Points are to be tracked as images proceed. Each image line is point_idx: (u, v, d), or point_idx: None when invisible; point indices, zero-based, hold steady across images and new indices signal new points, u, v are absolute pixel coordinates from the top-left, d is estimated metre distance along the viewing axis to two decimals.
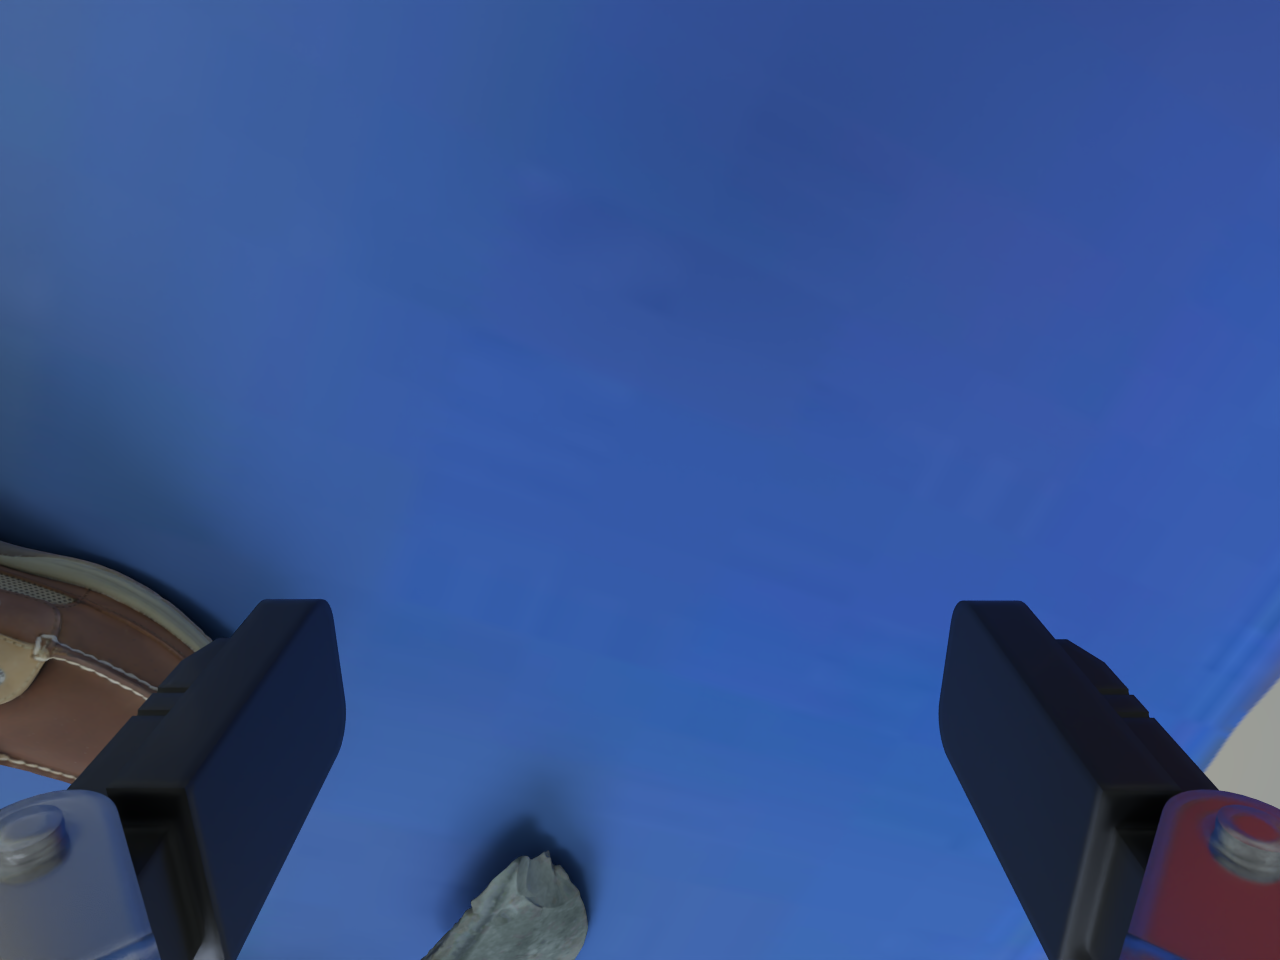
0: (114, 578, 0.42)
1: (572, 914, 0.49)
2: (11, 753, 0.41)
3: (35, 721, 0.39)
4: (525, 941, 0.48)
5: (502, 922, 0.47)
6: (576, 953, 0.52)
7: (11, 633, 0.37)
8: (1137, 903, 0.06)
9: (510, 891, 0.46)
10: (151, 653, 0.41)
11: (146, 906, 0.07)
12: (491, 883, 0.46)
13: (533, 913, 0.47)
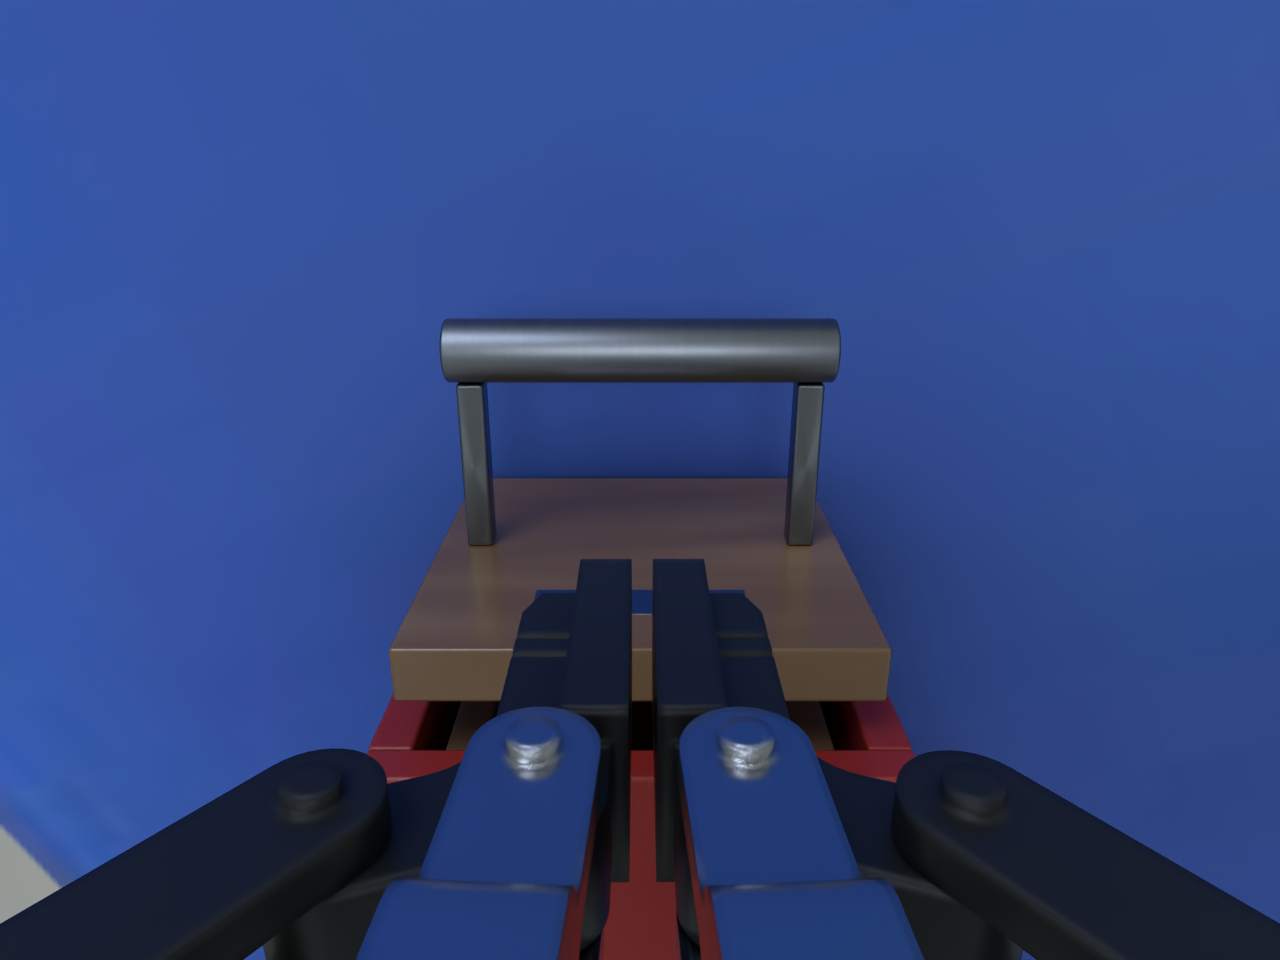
0: None
1: None
2: None
3: None
4: None
5: None
6: None
7: None
8: (696, 848, 0.07)
9: None
10: None
11: (600, 843, 0.08)
12: None
13: None
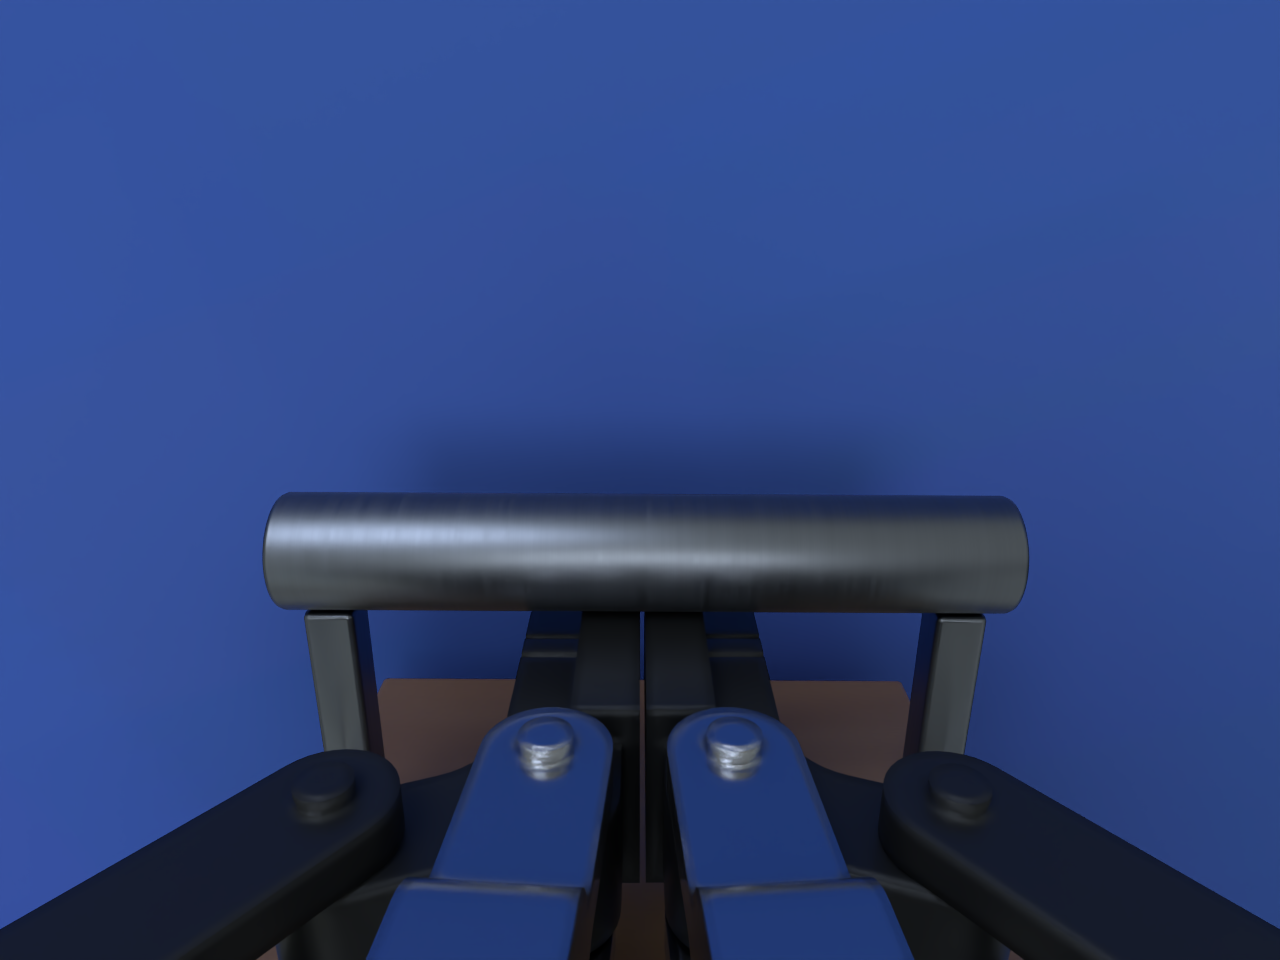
0: None
1: None
2: None
3: None
4: None
5: None
6: None
7: None
8: (685, 849, 0.07)
9: None
10: None
11: (612, 845, 0.08)
12: None
13: None
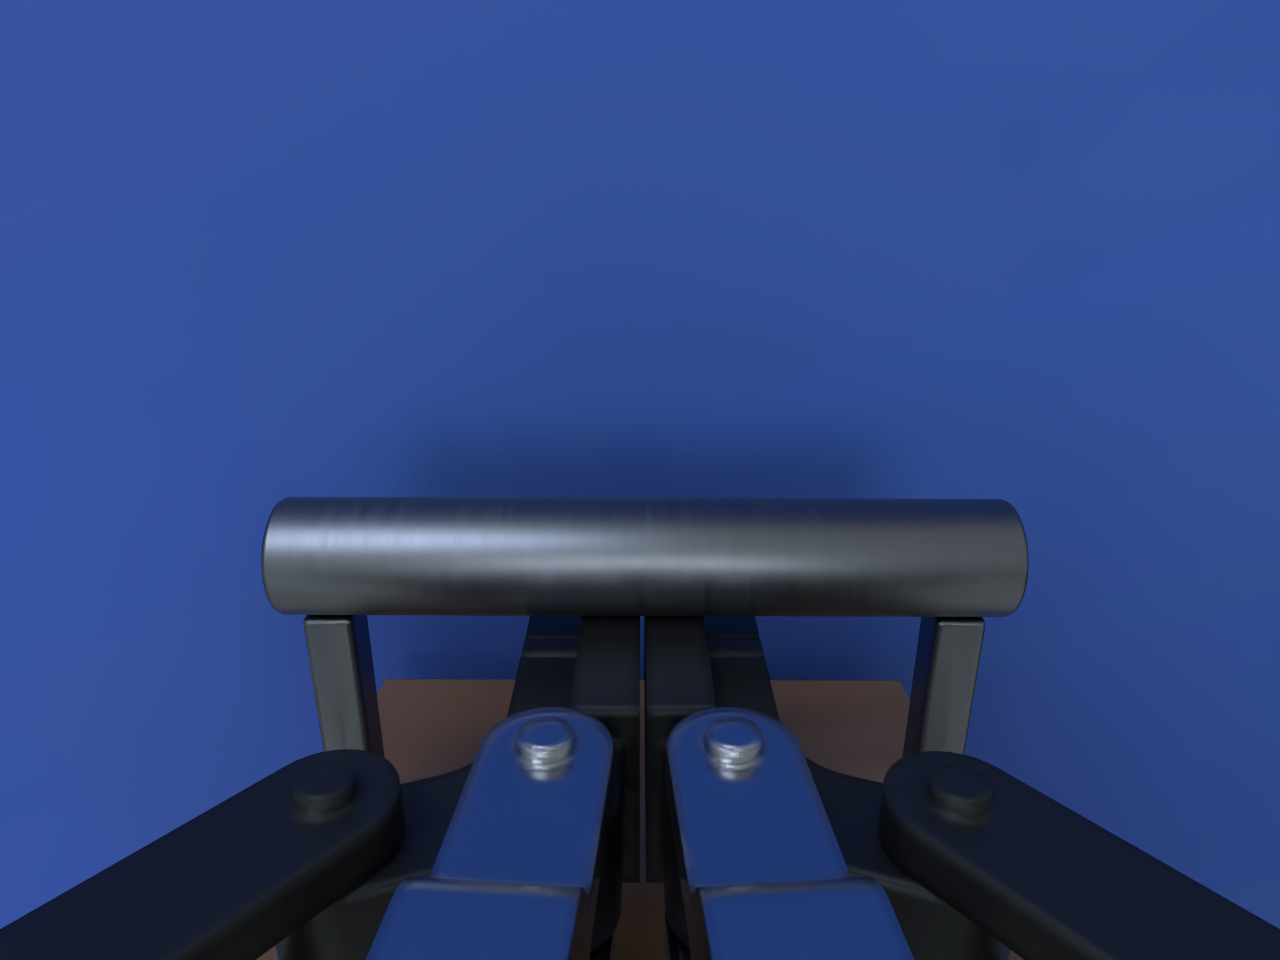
0: None
1: None
2: None
3: None
4: None
5: None
6: None
7: None
8: (684, 850, 0.07)
9: None
10: None
11: (612, 845, 0.08)
12: None
13: None
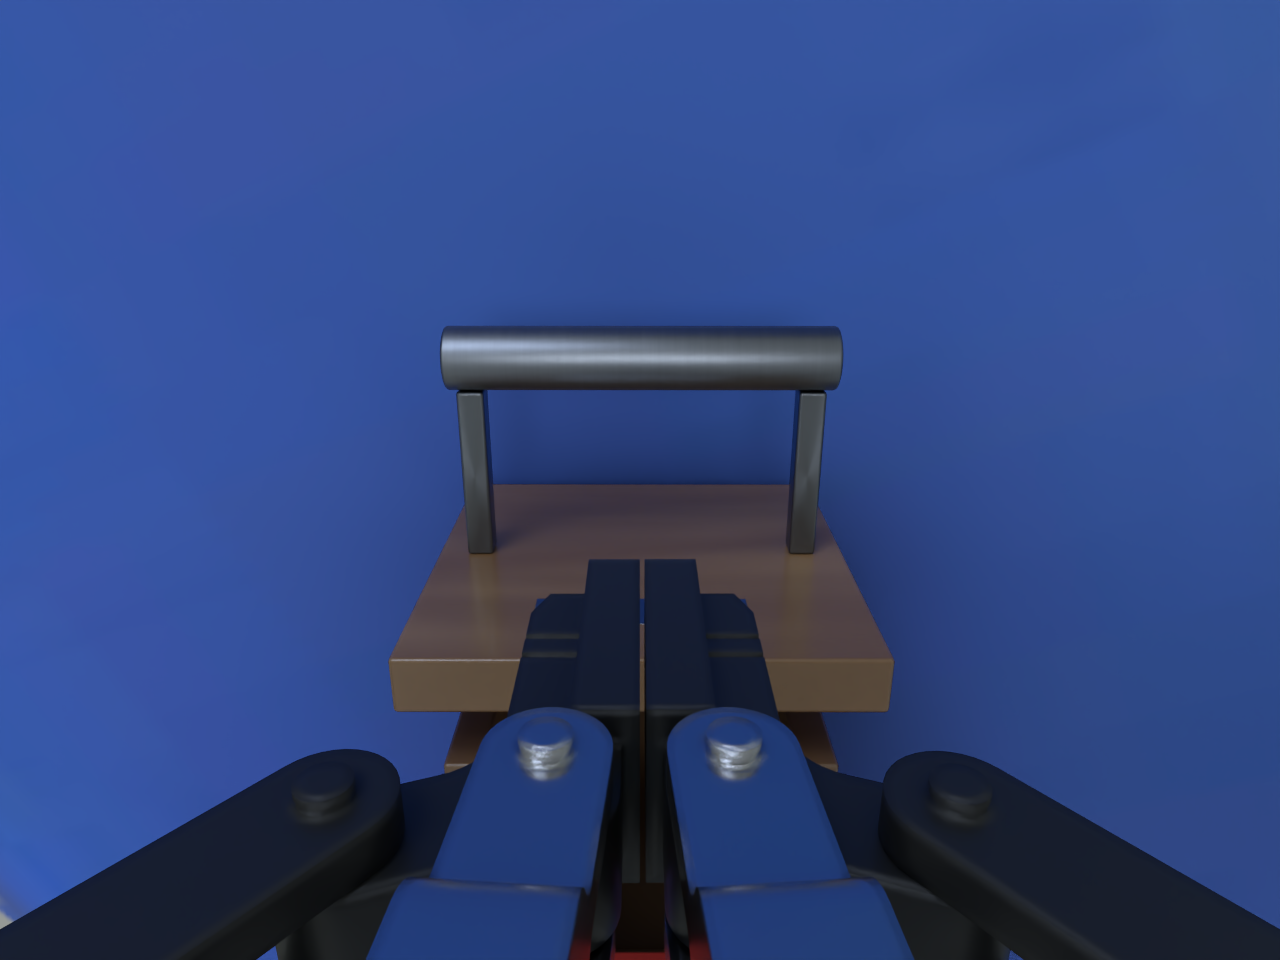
0: None
1: None
2: None
3: None
4: None
5: None
6: None
7: None
8: (684, 849, 0.07)
9: None
10: None
11: (612, 845, 0.08)
12: None
13: None
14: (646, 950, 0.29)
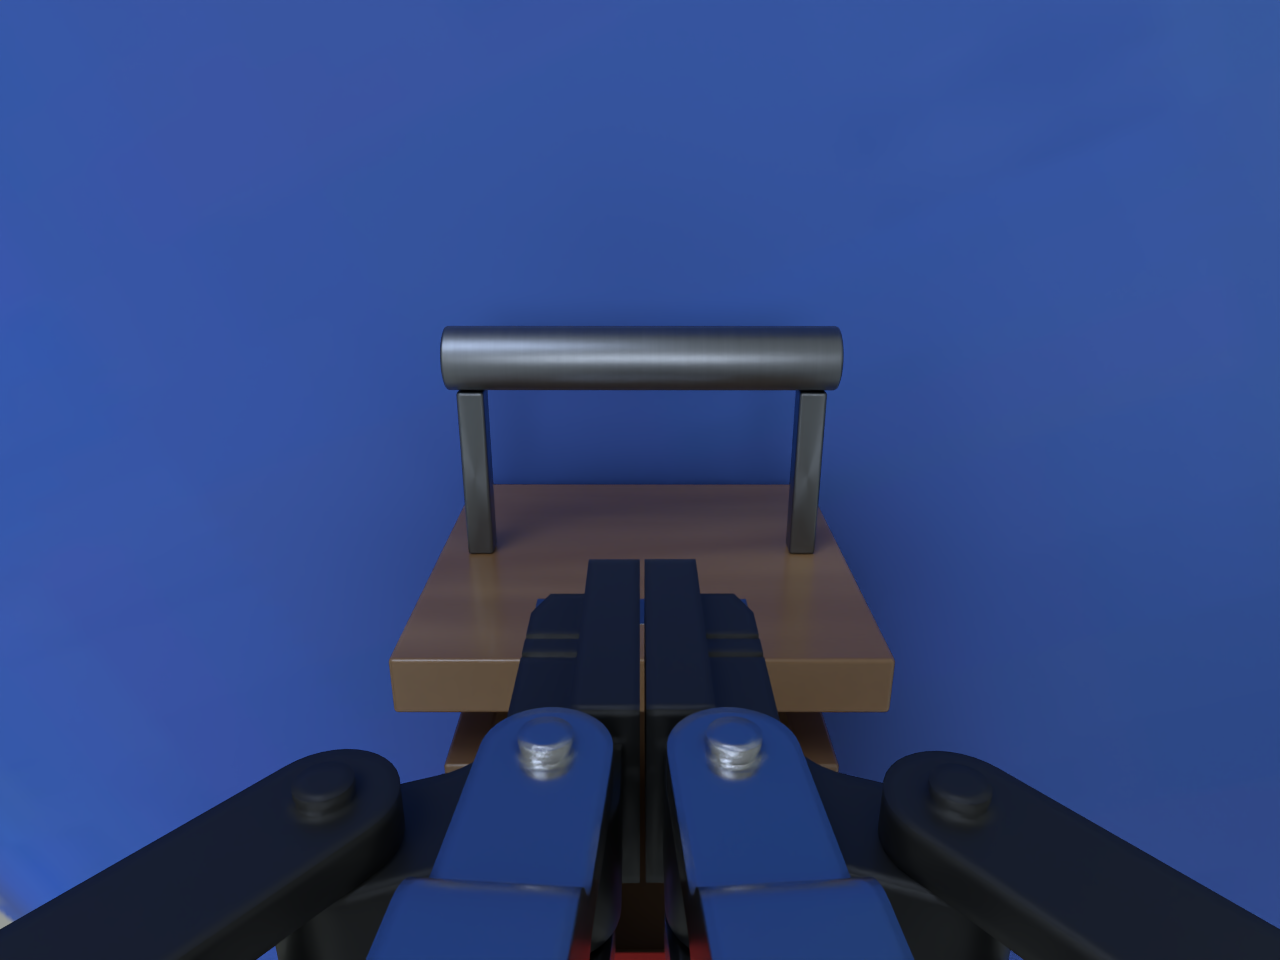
0: None
1: None
2: None
3: None
4: None
5: None
6: None
7: None
8: (684, 849, 0.07)
9: None
10: None
11: (612, 845, 0.08)
12: None
13: None
14: (646, 950, 0.29)
